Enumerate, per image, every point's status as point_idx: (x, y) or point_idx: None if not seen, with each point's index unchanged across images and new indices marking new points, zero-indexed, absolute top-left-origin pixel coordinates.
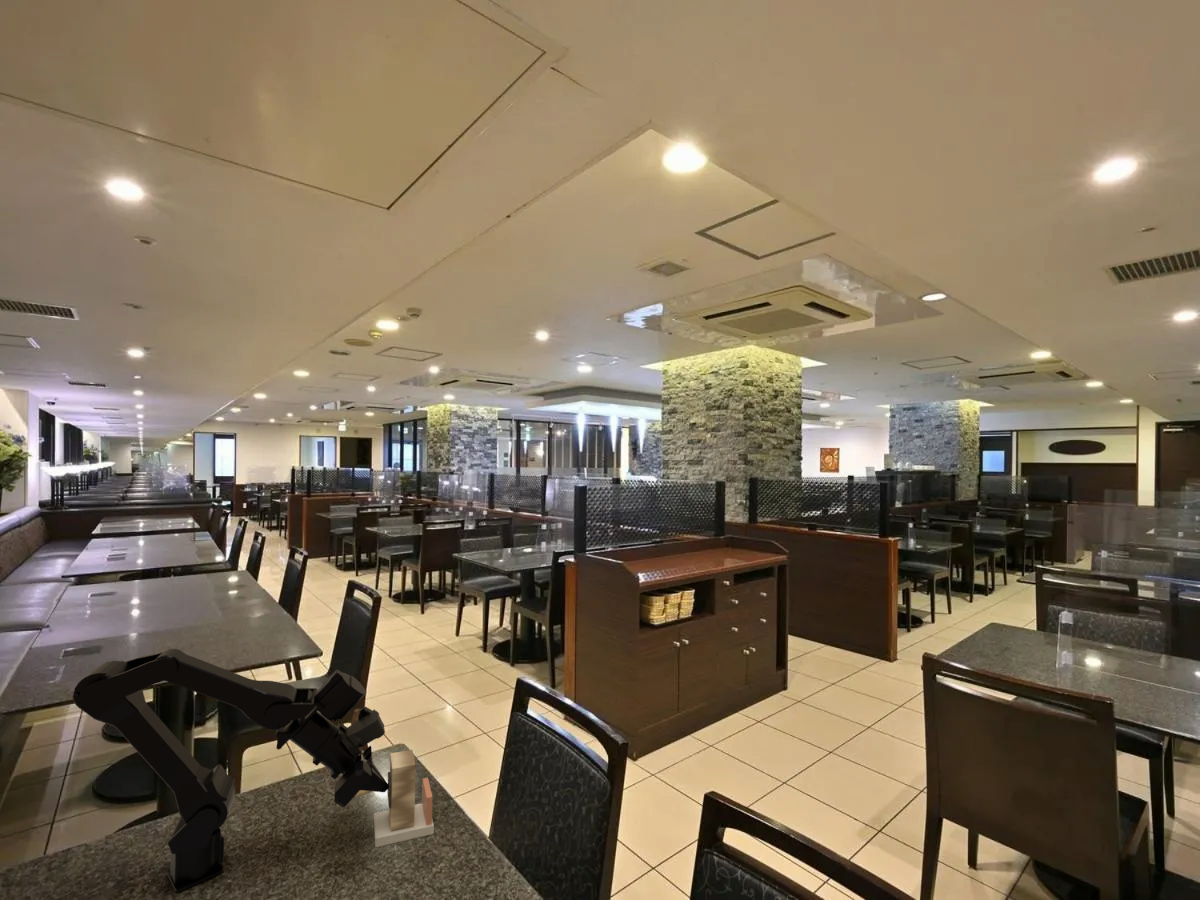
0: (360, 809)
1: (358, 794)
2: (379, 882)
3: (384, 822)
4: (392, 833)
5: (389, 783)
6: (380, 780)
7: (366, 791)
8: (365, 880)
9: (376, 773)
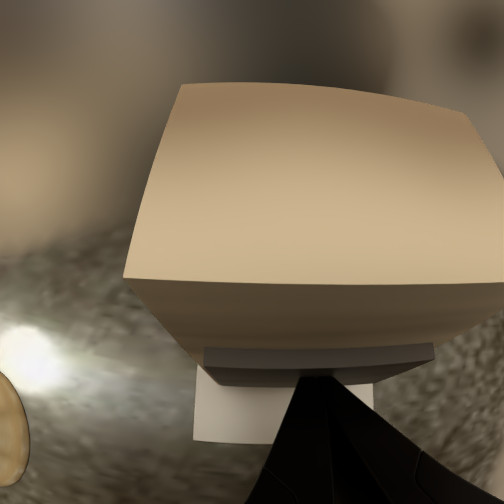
0: (102, 462)
1: (26, 443)
2: (496, 401)
3: (279, 407)
4: None
5: (402, 360)
6: (395, 433)
7: (21, 417)
8: (482, 437)
9: (412, 479)
